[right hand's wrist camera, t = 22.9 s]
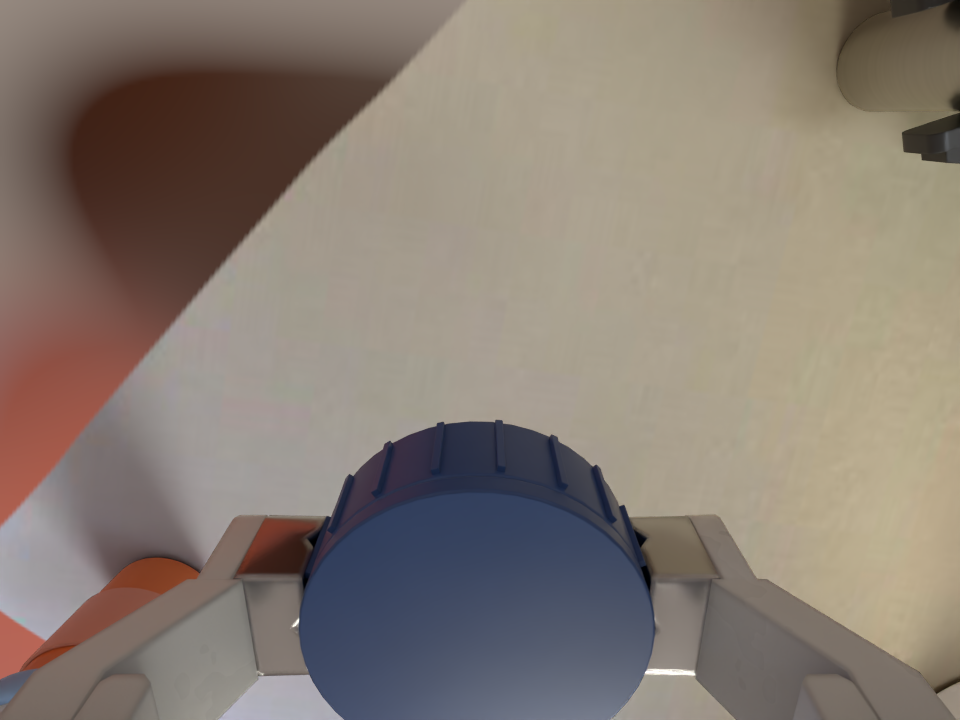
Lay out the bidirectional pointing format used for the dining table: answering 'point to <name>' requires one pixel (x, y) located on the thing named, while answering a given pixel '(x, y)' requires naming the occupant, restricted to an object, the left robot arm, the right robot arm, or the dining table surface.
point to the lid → (476, 584)
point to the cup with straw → (103, 613)
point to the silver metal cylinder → (904, 62)
